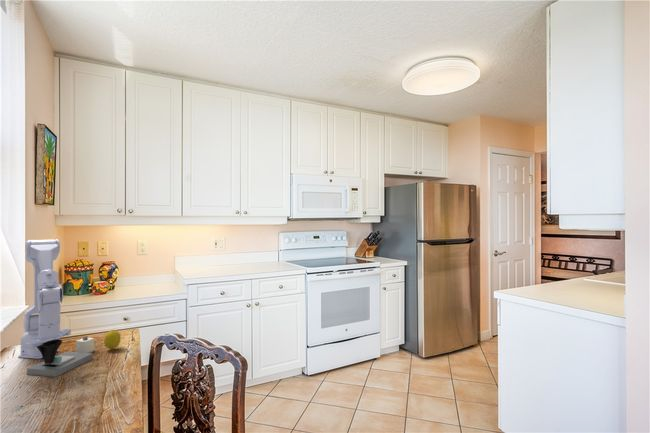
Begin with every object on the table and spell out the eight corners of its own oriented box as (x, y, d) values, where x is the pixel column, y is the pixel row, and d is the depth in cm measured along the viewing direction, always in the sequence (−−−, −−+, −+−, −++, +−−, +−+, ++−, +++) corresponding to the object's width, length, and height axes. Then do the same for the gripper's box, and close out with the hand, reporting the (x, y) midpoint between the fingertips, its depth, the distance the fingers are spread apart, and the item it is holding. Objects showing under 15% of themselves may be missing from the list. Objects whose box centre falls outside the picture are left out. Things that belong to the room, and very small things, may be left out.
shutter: (44, 363, 118) (44, 356, 118) (60, 356, 124) (60, 349, 124) (59, 365, 117) (59, 357, 117) (74, 358, 123) (74, 350, 123)
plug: (75, 354, 132) (75, 338, 132) (84, 350, 137) (84, 334, 137) (85, 354, 132) (85, 339, 132) (94, 350, 136) (94, 335, 136)
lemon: (114, 352, 134) (115, 332, 134) (100, 352, 134) (101, 331, 134) (123, 347, 140) (123, 327, 140) (109, 347, 140) (110, 327, 140)
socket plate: (26, 374, 115) (27, 368, 115) (66, 356, 130) (66, 351, 130) (55, 376, 113) (55, 370, 113) (92, 358, 128) (92, 353, 128)
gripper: (39, 330, 109) (38, 373, 109) (78, 317, 123) (77, 355, 123) (20, 329, 110) (19, 371, 110) (61, 316, 124) (60, 354, 124)
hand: (48, 362), depth 117 cm, fingers closed
